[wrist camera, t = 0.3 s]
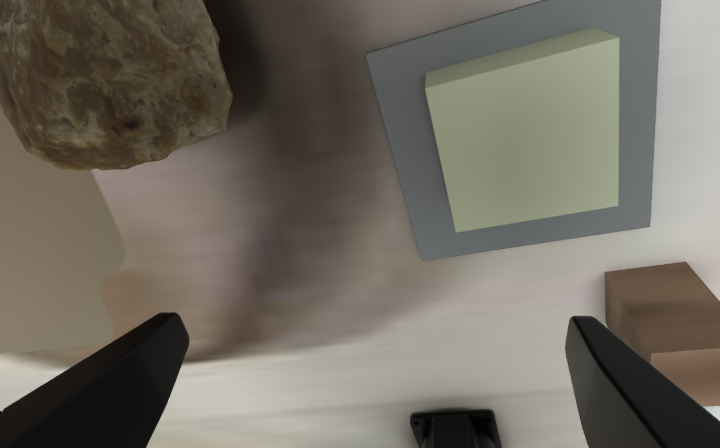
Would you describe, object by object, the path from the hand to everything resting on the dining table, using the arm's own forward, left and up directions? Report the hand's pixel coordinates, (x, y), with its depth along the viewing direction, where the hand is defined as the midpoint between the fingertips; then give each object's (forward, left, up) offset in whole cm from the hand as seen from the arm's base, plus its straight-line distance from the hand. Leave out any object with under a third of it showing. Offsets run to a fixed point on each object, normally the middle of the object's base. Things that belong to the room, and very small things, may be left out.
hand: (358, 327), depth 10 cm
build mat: (-2, -5, -14) cm, 15 cm away
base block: (-1, -5, -14) cm, 15 cm away
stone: (+7, +12, -14) cm, 20 cm away
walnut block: (-13, -11, -14) cm, 22 cm away
